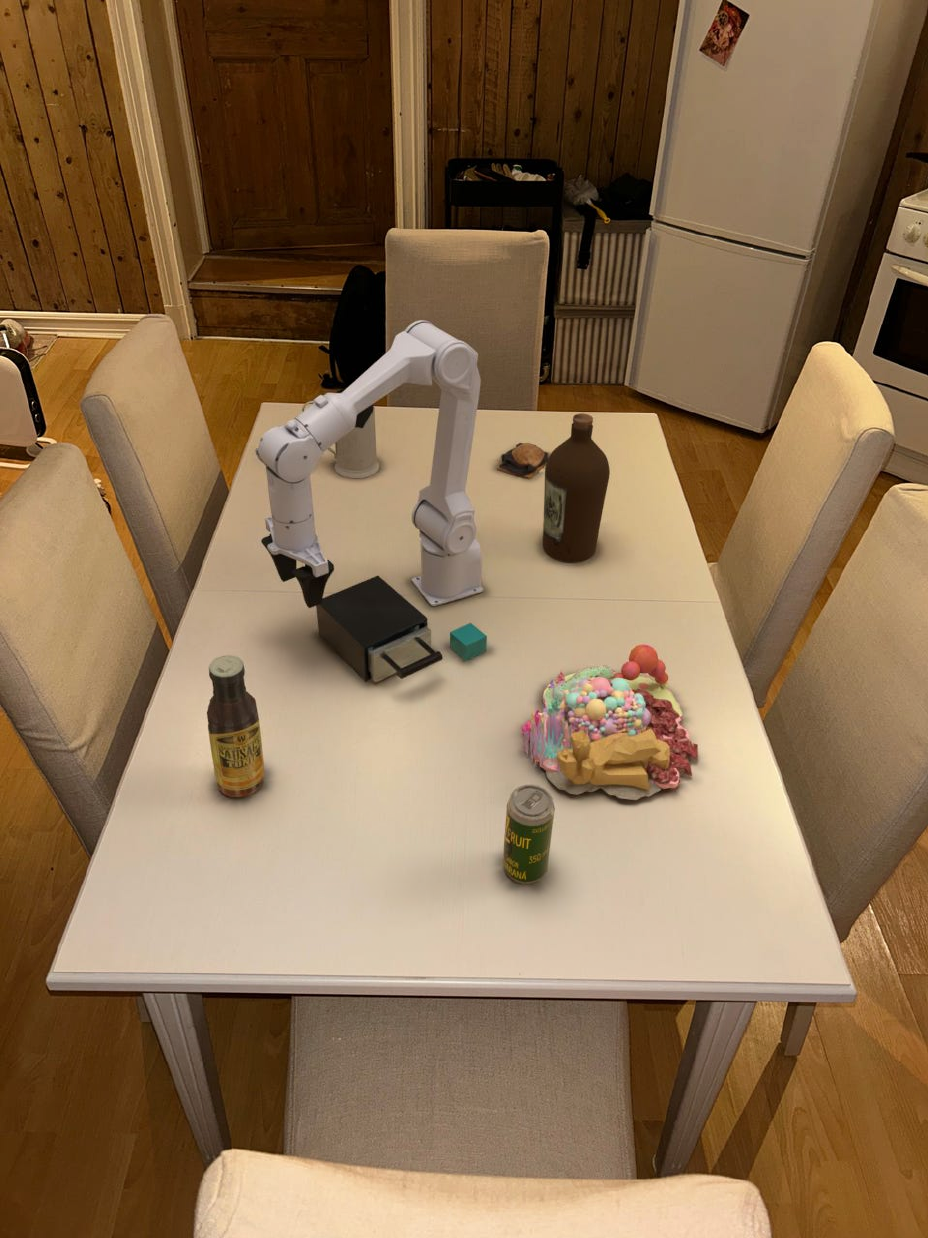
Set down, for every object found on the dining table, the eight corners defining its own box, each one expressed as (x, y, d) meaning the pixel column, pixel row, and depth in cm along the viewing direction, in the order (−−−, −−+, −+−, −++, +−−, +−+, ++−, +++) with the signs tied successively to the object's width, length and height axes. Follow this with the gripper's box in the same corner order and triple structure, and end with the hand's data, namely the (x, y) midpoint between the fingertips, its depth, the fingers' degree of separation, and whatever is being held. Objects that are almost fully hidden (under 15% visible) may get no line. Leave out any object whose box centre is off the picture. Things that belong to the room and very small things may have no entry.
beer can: (520, 841, 118) (526, 775, 110) (556, 865, 115) (564, 799, 107) (493, 869, 114) (497, 803, 107) (529, 894, 112) (536, 828, 104)
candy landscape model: (719, 795, 124) (733, 745, 118) (542, 815, 121) (547, 765, 115) (657, 667, 143) (667, 619, 137) (503, 682, 140) (506, 634, 134)
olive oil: (581, 526, 173) (596, 398, 157) (610, 557, 165) (629, 426, 150) (528, 537, 170) (538, 408, 154) (555, 570, 162) (569, 438, 146)
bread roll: (518, 447, 196) (519, 430, 193) (555, 457, 192) (556, 441, 190) (492, 468, 188) (493, 452, 186) (530, 480, 185) (531, 463, 183)
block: (470, 637, 148) (470, 622, 146) (486, 651, 145) (486, 635, 144) (449, 647, 146) (449, 632, 144) (465, 661, 143) (465, 646, 142)
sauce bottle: (225, 807, 121) (201, 691, 108) (211, 773, 125) (187, 659, 113) (274, 789, 123) (257, 674, 111) (259, 757, 127) (241, 643, 115)
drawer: (450, 674, 140) (451, 647, 137) (394, 702, 135) (393, 675, 132) (385, 614, 150) (384, 588, 147) (330, 638, 146) (328, 612, 142)
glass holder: (377, 478, 184) (374, 407, 175) (303, 477, 184) (296, 405, 175) (381, 456, 191) (378, 386, 182) (310, 454, 191) (303, 384, 182)
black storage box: (427, 652, 145) (427, 618, 141) (365, 682, 139) (363, 647, 135) (379, 609, 153) (378, 575, 149) (318, 635, 147) (315, 601, 143)
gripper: (241, 497, 133) (253, 576, 142) (292, 546, 124) (301, 627, 133) (286, 483, 137) (295, 560, 145) (339, 529, 128) (345, 609, 136)
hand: (301, 591), depth 139 cm, fingers open, 7 cm apart
